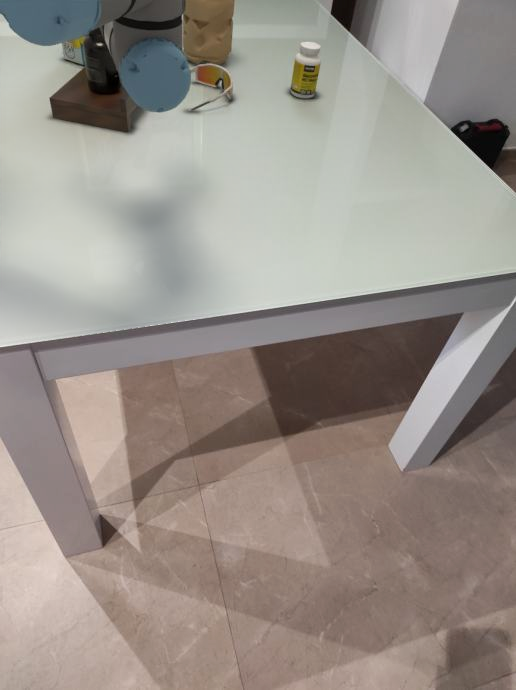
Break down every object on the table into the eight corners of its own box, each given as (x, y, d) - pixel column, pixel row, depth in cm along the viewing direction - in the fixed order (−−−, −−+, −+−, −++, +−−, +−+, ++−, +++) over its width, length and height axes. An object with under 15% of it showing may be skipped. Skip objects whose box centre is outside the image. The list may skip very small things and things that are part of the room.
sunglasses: (244, 99, 121) (244, 77, 117) (196, 123, 114) (194, 102, 110) (204, 77, 126) (202, 56, 122) (156, 100, 120) (153, 78, 116)
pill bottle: (299, 100, 124) (307, 51, 116) (285, 90, 127) (292, 41, 119) (319, 97, 126) (329, 48, 118) (305, 87, 130) (313, 39, 121)
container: (175, 61, 132) (174, -22, 118) (192, 46, 140) (193, -34, 127) (222, 72, 130) (226, -12, 117) (236, 56, 139) (242, -24, 125)
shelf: (52, 117, 105) (46, 85, 100) (87, 84, 117) (83, 53, 112) (128, 132, 105) (125, 100, 100) (155, 97, 117) (154, 67, 112)
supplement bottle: (127, 92, 108) (122, 28, 99) (95, 97, 105) (87, 31, 96) (113, 79, 111) (107, 16, 102) (82, 83, 108) (73, 19, 99)
